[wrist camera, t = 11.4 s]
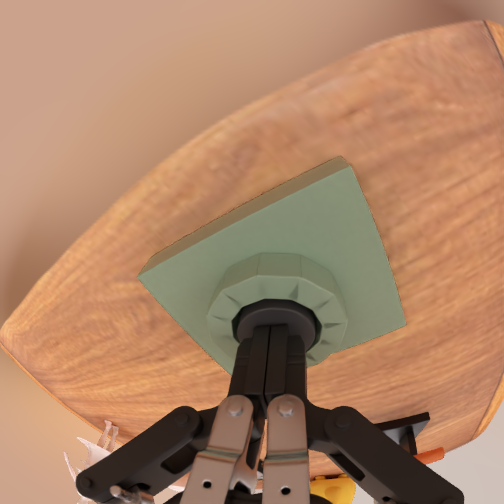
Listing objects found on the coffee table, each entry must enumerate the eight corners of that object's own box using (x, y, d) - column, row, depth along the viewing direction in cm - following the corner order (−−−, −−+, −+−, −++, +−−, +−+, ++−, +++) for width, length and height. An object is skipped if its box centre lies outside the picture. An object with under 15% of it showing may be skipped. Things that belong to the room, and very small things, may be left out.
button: (228, 298, 14) (221, 323, 12) (294, 272, 12) (294, 296, 11) (264, 342, 15) (261, 366, 13) (324, 322, 14) (326, 347, 12)
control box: (151, 256, 16) (121, 297, 13) (340, 154, 12) (362, 177, 8) (239, 356, 20) (231, 400, 16) (397, 301, 16) (415, 348, 12)
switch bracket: (369, 425, 25) (374, 511, 15) (428, 411, 24) (442, 492, 14) (359, 448, 30) (360, 516, 20) (408, 438, 28) (415, 503, 18)
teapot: (306, 471, 38) (303, 518, 29) (363, 466, 36) (363, 512, 27) (305, 484, 47) (302, 520, 38) (349, 481, 45) (348, 516, 36)
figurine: (72, 401, 36) (34, 483, 18) (101, 407, 33) (60, 505, 16) (117, 435, 41) (90, 510, 24) (150, 442, 38) (123, 528, 21)
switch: (396, 453, 17) (400, 472, 15) (441, 441, 16) (447, 457, 14) (375, 496, 20) (377, 510, 18) (411, 488, 19) (414, 501, 17)
